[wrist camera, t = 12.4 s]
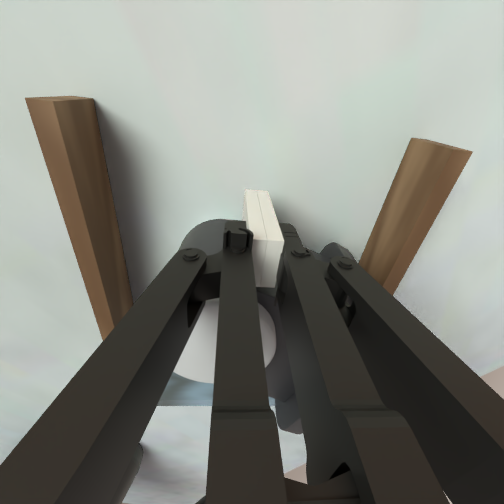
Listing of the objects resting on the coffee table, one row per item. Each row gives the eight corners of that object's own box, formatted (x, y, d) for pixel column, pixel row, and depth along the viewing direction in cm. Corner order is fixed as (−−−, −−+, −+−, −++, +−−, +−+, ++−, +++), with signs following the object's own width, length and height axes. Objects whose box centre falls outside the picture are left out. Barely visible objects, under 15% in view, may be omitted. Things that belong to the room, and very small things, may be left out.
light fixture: (214, 173, 18) (178, 249, 9) (351, 247, 22) (426, 356, 13) (166, 276, 23) (111, 393, 14) (284, 323, 27) (302, 442, 18)
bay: (133, 360, 29) (116, 406, 25) (72, 95, 15) (8, 98, 11) (325, 363, 32) (339, 405, 27) (427, 139, 17) (487, 155, 13)
